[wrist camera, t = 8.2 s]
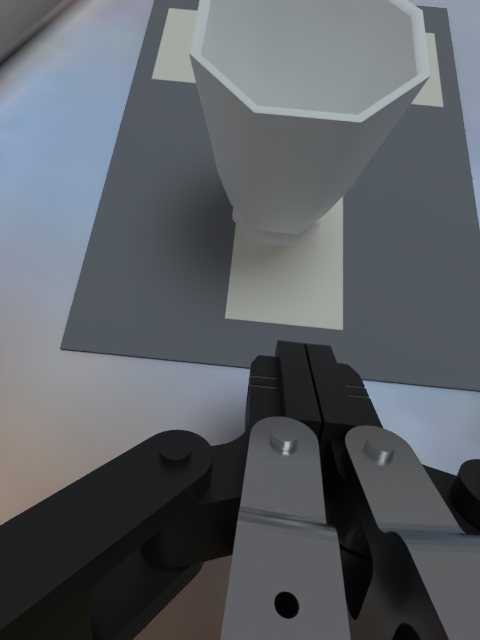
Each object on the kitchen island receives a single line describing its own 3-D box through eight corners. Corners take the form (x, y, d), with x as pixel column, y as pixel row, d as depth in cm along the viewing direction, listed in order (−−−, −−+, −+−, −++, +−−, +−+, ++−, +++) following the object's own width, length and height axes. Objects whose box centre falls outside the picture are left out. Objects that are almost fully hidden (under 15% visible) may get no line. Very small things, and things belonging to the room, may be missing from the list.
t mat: (500, 393, 16) (503, 392, 15) (61, 349, 16) (59, 348, 16) (445, 11, 24) (447, 8, 24) (160, -16, 24) (159, -20, 24)
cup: (174, 233, 18) (134, 60, 10) (270, 95, 21) (294, -115, 13) (314, 300, 17) (386, 164, 9) (391, 144, 20) (493, -52, 12)
